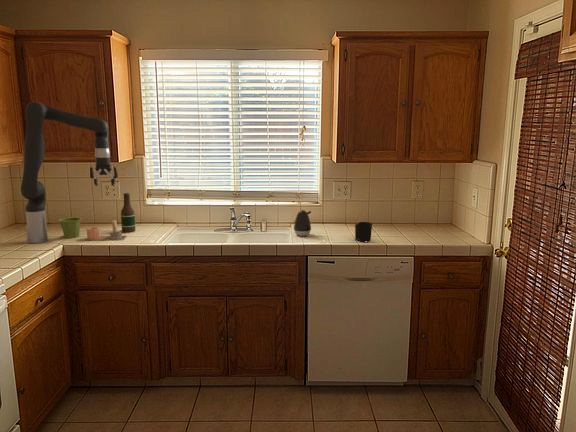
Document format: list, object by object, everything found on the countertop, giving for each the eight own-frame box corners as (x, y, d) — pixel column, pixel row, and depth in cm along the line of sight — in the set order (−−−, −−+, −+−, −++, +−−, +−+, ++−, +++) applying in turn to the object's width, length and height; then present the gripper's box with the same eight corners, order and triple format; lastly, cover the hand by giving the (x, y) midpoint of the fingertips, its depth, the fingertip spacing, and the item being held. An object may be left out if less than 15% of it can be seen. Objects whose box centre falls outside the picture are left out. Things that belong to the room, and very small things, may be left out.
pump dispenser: (313, 236, 269) (314, 211, 266) (297, 237, 266) (297, 212, 263) (307, 232, 279) (308, 208, 276) (291, 233, 276) (291, 209, 273)
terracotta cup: (86, 240, 252) (85, 229, 251) (89, 237, 258) (88, 227, 257) (98, 239, 253) (97, 229, 252) (101, 237, 259) (100, 226, 258)
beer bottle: (121, 234, 270) (118, 194, 265) (123, 231, 277) (120, 192, 273) (134, 234, 271) (132, 194, 267) (136, 231, 279) (134, 192, 274)
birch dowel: (113, 238, 256) (111, 221, 254) (114, 237, 258) (112, 220, 256) (117, 238, 256) (115, 220, 254) (118, 237, 258) (116, 220, 256)
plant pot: (83, 235, 267) (81, 216, 265) (83, 239, 257) (82, 220, 255) (60, 237, 262) (58, 217, 260) (60, 241, 252) (58, 221, 250)
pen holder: (352, 238, 265) (353, 221, 263) (368, 238, 266) (369, 221, 264) (356, 242, 256) (357, 225, 254) (373, 242, 257) (374, 225, 255)
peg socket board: (83, 243, 250) (82, 235, 249) (89, 238, 260) (88, 231, 260) (123, 242, 253) (123, 235, 252) (127, 237, 263) (127, 230, 263)
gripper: (87, 156, 248) (89, 186, 251) (114, 156, 250) (116, 186, 253) (91, 156, 255) (93, 185, 258) (117, 156, 257) (119, 184, 260)
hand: (104, 185), depth 256 cm, fingers open, 8 cm apart
